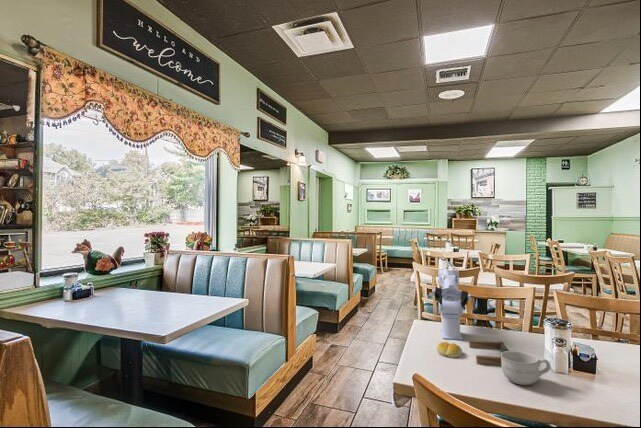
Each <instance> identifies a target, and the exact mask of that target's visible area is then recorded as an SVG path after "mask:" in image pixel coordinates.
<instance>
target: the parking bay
mask: <svg viewBox="0 0 641 428" xmlns="http://www.w3.org/2000/svg"><path fill="white" fill-rule="evenodd" d="M468 346H469V348H470V349H471V348H472V349H485V350H500V352H501V353H502V352H505V351H510V349H508V348H507V346H506V344H505V343H504V341H494V340H493V341H491V340H477V339H476V340H474V339H473V340H472V339H469V340H468ZM475 359H476V360H475V361H476V364H477V365H483V366H484V365H487V366H500V367H502V365H501V356H490V355H477V354H476V355H475Z"/></svg>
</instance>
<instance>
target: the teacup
mask: <svg viewBox="0 0 641 428" xmlns="http://www.w3.org/2000/svg"><path fill="white" fill-rule="evenodd" d="M500 357H501V365H502V366H501V371H502V373H503V375H504V377H506V379H508V380H509V381H510V382H511V383H514V384H518V385H521V386H530V385H532V384H534V383H536V382H537V381H538V380H539V378H540V377H541V376H542V375H544V374H546V373H548V372H549V371H550V370H551V363H550V361H548V359H545V358H539V357H537V356H536V355H534V354H532V353H528V352H525V351H520V350H519V351H518V350H509V351H505V352H501V353H500ZM542 363H545V364H546V366H545V368H544V369H541V370H540V366H541V364H542Z"/></svg>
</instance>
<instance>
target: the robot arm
mask: <svg viewBox="0 0 641 428" xmlns="http://www.w3.org/2000/svg"><path fill="white" fill-rule="evenodd" d="M437 270H438V272H437V273H438V276H437V277H438V284H439V286H440V287H436V288H434V289H432V291H431V296H434V301H436V302H437V303H438V313H439V315H441V317H442V318H441V320H442V323H441V324H442V329H440V333H441V336H442V339H443V340H463V337H462V333H461V317H462V316H463V315H464V306H467V305H468V301H471V299H472V296H471V293H469V292H468V291H466V290H460V289H458V287H459V286H460V285H459V284H460V272H459V270H458V269H440V268H439V269H437Z"/></svg>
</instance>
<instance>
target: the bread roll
mask: <svg viewBox="0 0 641 428" xmlns="http://www.w3.org/2000/svg"><path fill="white" fill-rule="evenodd" d="M436 351H437V353H438V354H439V355H440V356H443V357H448V358H454V359H455V358H460V357H461V356H462V353H463V349H462V348H461V346H459V345H458V344H456V343H449V342H447V341H443V342H442V341H441V342H440V343H438V344H437V346H436Z"/></svg>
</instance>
